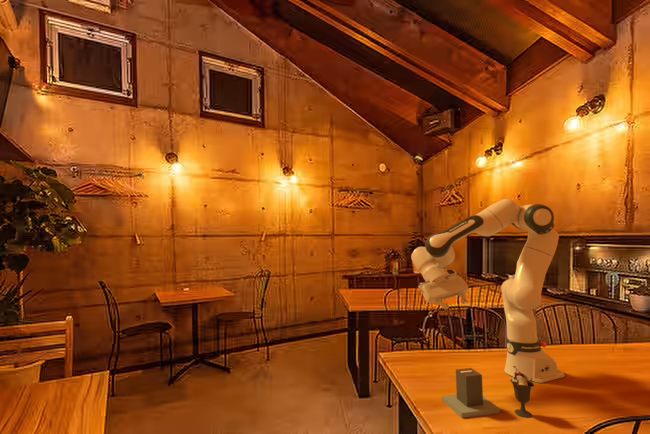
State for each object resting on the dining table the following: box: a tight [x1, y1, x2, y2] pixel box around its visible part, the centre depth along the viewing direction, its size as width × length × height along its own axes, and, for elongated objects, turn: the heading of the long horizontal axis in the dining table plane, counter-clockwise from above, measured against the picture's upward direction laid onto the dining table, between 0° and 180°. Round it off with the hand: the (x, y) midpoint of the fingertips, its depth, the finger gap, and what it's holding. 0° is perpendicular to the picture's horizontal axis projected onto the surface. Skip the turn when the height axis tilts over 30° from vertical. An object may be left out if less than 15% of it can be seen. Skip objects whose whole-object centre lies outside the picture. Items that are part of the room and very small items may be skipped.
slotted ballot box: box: [455, 367, 484, 407], centre depth 115 cm, size 6×6×10 cm
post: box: [441, 393, 501, 419], centre depth 115 cm, size 14×12×8 cm
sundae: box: [509, 366, 535, 419], centre depth 110 cm, size 7×7×15 cm
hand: (456, 305), depth 134 cm, fingers open, 8 cm apart
